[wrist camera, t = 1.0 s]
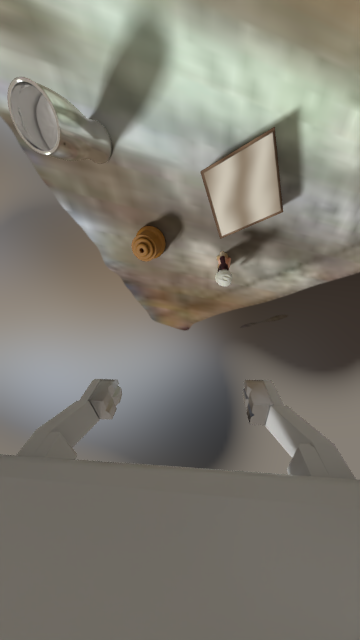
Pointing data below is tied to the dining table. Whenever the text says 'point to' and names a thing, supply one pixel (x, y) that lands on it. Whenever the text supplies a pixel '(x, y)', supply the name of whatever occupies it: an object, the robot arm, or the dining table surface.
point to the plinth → (245, 185)
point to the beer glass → (55, 124)
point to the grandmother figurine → (223, 270)
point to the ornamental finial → (148, 243)
